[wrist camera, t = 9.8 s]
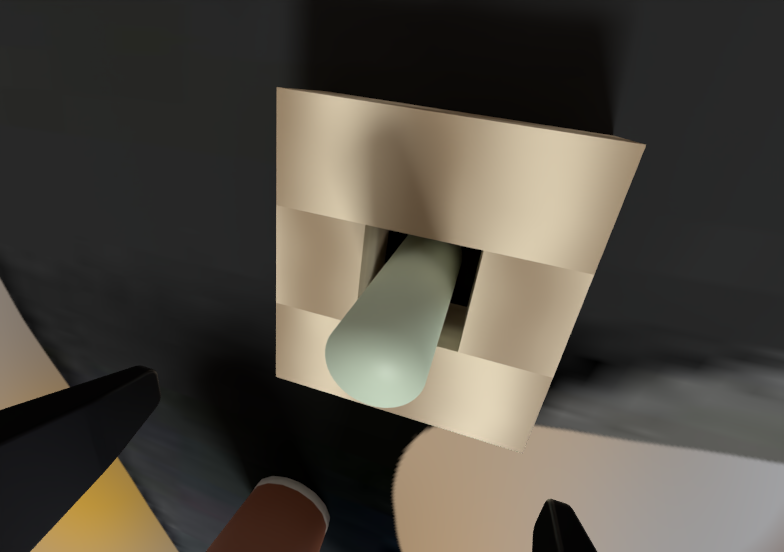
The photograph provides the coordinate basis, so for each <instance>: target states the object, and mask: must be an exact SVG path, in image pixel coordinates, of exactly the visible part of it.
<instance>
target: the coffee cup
mask: <svg viewBox="0 0 784 552" xmlns="http://www.w3.org/2000/svg"><path fill="white" fill-rule="evenodd" d="M329 520H330V516H329V513H328V510H327V508H326V505H325V504H324V503H323V501H322V500H321V499H320V498H319V497H318V495H317V494H316V493H315V492H313V491H312V490H310V489H309V488H308V487H306V486H305V485H304V484H302V483H300V482H297V481H295V480H292V479H290V478H287V477H279V476H270V477H267V478H264V479H261V481H260V482H259V483H258V484H257V485H256V487H255V488H254V490H253V491H252V493H251V494H250V495H249V497H248V498H247V499H246V501H245V502H244V503H243V504H242V506H241V507H240V508H239V510H238V511H237V512H236V513H235V515H234V516H233V517H232V519H231V520H230V521H229V522H228V524H227V525H226V526H225V528H224V529H223V530H222V531H221V533H220V534H219V535H218V537H217V538H216V539H215V540H214V542H213V543H212V544H211V546H210V547H209V548H208V549H207V551H206V552H319V550H320V547H321V544H322V541H323V539H324V536H325V533H326V531H327V529H328V525H329Z"/></svg>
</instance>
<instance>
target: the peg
mask: <svg viewBox="0 0 784 552" xmlns="http://www.w3.org/2000/svg"><path fill="white" fill-rule="evenodd" d="M462 258H463V254H462V249H461V246H460V245H456V244H451V243H447V242H442V241H438V240H433V239H429V238H424V237H419V236H415V235H410V234H409V235H408V236H407V237H406V238H405V240H404V241H403V242H402V243H401V245H400V246H399V247H398V249H397V250H396V251H395V252H394V254H393V255H392V256H391V258H390V259H389V260H388V261H387V263H386V264H385V265H384V266H383V268H382V269H381V270H380V272H379V273H378V274H377V275H376V277H375V278H374V279H373V281H372V282H371V283H370V284H369V286H368V287H367V288H366V290H365V291H364V292H363V293H362V295H361V296H360V297H359V298H358V300H357V301H356V302H355V304H354V305H353V306H352V307H351V309H350V310H349V311H348V313H347V314H346V315H345V316H344V318H343V319H342V320H341V322H340V323H339V324H338V325H337V327H336V328H335V329H334V330H333V332H332V333H331V335H330V336H329V338H328V340H327V343H326V348H325V359H326V364H327V367H328V370H329V372H330V374H331V376H332V378H333V379H334V381H335V382H336V383H337V384H338V386H339V387H340V388H341V389H342V390H343V391H345V392H346V393H347V394H348V395H350V396H351V397H353V398H354V399H356V400H358V401H360V402H362V403H364V404H367V405H370V406H374V407H380V408H394V407H399V406H402V405H405V404H407V403H409V402H411V401H413V400H414V399H415V398H416V397H417V396H418V395H419V394H420V393H421V392H422V390H423V388H424V386H425V384H426V380H427V377H428V374H429V370H430V367H431V364H432V360H433V357H434V354H435V350H436V347H437V344H438V340H439V337H440V334H441V330H442V327H443V324H444V320H445V317H446V314H447V310H448V307H449V304H450V300H451V297H452V294H453V290H454V287H455V284H456V280H457V277H458V274H459V270H460V267H461V264H462Z"/></svg>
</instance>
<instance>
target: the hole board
mask: <svg viewBox="0 0 784 552" xmlns="http://www.w3.org/2000/svg"><path fill="white" fill-rule="evenodd" d="M645 146H646V145H645V144H641V143H638V142H634V141H631V140H627V139H624V138H620V137H617V136H613V135H606V134H600V133H593V132H587V131H580V130H574V129H567V128H561V127H554V126H548V125H542V124H535V123H529V122H522V121H516V120H509V119H503V118H496V117H490V116H483V115H477V114H470V113H464V112H457V111H451V110H444V109H438V108H431V107H425V106H418V105H412V104H405V103H399V102H392V101H386V100H379V99H373V98H366V97H360V96H353V95H347V94H340V93H334V92H327V91H317V90H305V89H292V88H280V87H277V206H276V377H279V378H282V379H285V380H288V381H291V382H295V383H298V384H301V385H304V386H308V387H311V388H314V389H317V390H320V391H324V392H327V393H330V394H333V395H336V396H340V397H343V398H346V399H349V400H353V401H356V402H359V403H362V402H360V401H358V400H356V399H354V398H353V397H351V396H350V395H348V394H347V393H346V392H345V391H343V390H342V389H341V388H340V387H339V386H338V384H337V383H336V382H335V381H334V379H333V378H332V376H331V374H330V372H329V370H328V367H327V364H326V359H325V348H326V343H327V340H328V338H329V336H330V335H331V333H332V332H333V330H334V329H335V328H336V327H337V325H338V324H339V323H340V322H341V320H342V319H343V318H344V316H345V315H346V314H347V313H348V311H349V310H350V309H351V307H352V306H353V305H354V304H355V302H356V301H357V300H358V298H359V297H360V296H361V295H362V293H363V292H364V291H365V290H366V288H367V287H368V286H369V284H370V283H371V282H372V281H373V279H374V278H375V277H376V275H377V274H378V273H379V272H380V270H381V269H382V268H383V266H384V265H385V258H386V250H387V243H388V236H389V230H392V231H397V232H401V233H406V234H410V235H415V236H419V237H424V238H429V239H433V240H438V241H442V242H447V243H451V244H456V245H460V246H465V247H470V248H474V249H479V250H481V254H480V258H479V262H478V266H477V270H476V274H475V278H474V282H473V286H472V290H471V294H470V298H469V302H468V306H467V307H465V306H461V305H457V304H453V303H450V304H449V307H448V310H447V314H446V317H445V320H444V324H443V327H442V330H441V334H440V337H439V340H438V344H437V347H436V350H435V354H434V357H433V360H432V364H431V367H430V370H429V374H428V377H427V380H426V384H425V386H424V388H423V390H422V392H421V393H420V394H419V395H418V396H417V397H416V398H415V399H414V400H413V401H411V402H409V403H407V404H405V405H402V406H399V407H394V408H380V407H375V408H378V409H381V410H385V411H388V412H391V413H394V414H398V415H401V416H404V417H407V418H410V419H414V420H417V421H420V422H423V423H426V424H430V425H433V426H436V427H439V428H442V429H446V430H449V431H452V432H455V433H459V434H462V435H465V436H468V437H472V438H475V439H478V440H481V441H485V442H488V443H491V444H494V445H497V446H500V447H504V448H507V449H510V450H514V451H516V452H520V453H523V451H524V449H525V446H526V444H527V441H528V438H529V436H530V434H531V431H532V429H533V426H534V424H535V421H536V419H537V416H538V414H539V411H540V409H541V406H542V404H543V401H544V399H545V396H546V394H547V391H548V389H549V386H550V384H551V381H552V379H553V376H554V374H555V371H556V369H557V366H558V364H559V361H560V359H561V356H562V354H563V351H564V349H565V346H566V344H567V341H568V339H569V336H570V334H571V331H572V329H573V326H574V324H575V321H576V319H577V316H578V314H579V311H580V309H581V306H582V304H583V301H584V299H585V296H586V294H587V291H588V289H589V286H590V284H591V281H592V279H593V276H594V274H595V271H596V269H597V266H598V264H599V261H600V259H601V256H602V254H603V251H604V249H605V246H606V244H607V241H608V239H609V236H610V234H611V231H612V229H613V226H614V224H615V221H616V219H617V216H618V214H619V211H620V209H621V206H622V204H623V201H624V199H625V196H626V194H627V191H628V189H629V186H630V184H631V181H632V179H633V176H634V174H635V171H636V169H637V166H638V164H639V161H640V159H641V156H642V154H643V151H644V149H645ZM362 404H364V403H362ZM365 405H367V404H365ZM369 406H370V405H369ZM372 407H374V406H372Z"/></svg>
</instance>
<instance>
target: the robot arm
mask: <svg viewBox="0 0 784 552" xmlns="http://www.w3.org/2000/svg"><path fill="white" fill-rule="evenodd" d="M160 398H161V393H160V387H159V381H158V375H157V372H156V371H155V370H153V369H150V368H147V367H144V366H134V367H131V368H128V369H125V370H122V371H119V372H116V373H113V374H110V375H107V376H104V377H101V378H97V379H94V380H91V381H88V382H85V383H82V384H79V385H76V386H73V387H70V388H67V389H64V390H61V391H58V392H54V393H52V394H48V395H45V396H42V397H39V398H36V399H33V400H30V401H27V402H24V403H21V404H18V405H15V406H11V407H8V408H5V409H3V410H0V552H30V551H31V550H32V549H33V548H34V547H35V546H36V545H37V543H39V541H41V539H42V538H43V537H44V536H45V535H46V534H47V533H48V532H49V531H50V530H51V529H52V528H53V526H54V525H55V524H56V523H57V522H58V521H59V520H60V519H61V518H62V517H63V516H64V515H65V514H66V513H67V511H68V510H69V509H70V508H71V507H72V506H73V505H74V504H75V503H76V502H77V501H78V500H79V499H80V497H81V496H82V495H83V494H84V493H85V492H86V491H87V490H88V489H89V488H90V487H91V486H92V485H93V484H94V482H95V481H96V480H97V479H98V478H99V477H100V476H101V475H102V474H103V473H104V472H105V470H106V469H107V468H108V467H109V466H110V465H111V464H112V462H113V461H114V460H115V459H116V458H117V456H118V455H119V454H120V453H121V451H122V450H123V449H124V448H125V446H126V445H127V444H128V443H129V441H130V440H131V439H132V437H133V436H134V435H135V434H136V432H137V431H138V430H139V429H140V427H141V426H142V425H143V423H144V422H145V421H146V420H147V418H148V417H149V416H150V415H151V413H152V412H153V411H154V410H155V408H156V407H157V405H158V404H159V401H160ZM532 552H597V551H596V549H595V547H594V545H593V544H592V542H591V540H590V538H589V537H588V535H587V533H586V532H585V530H584V528H583V526H582V524H581V523H580V521H579V519H578V518H577V516H576V514H575V512H574V511H573V509H572V508H571V507H570V506H569V505H567V504H565V503H562V502H559V501H556V500H553V499H548V500H547V501H546V502H545V504H544V506H543V508H542V510H541V512H540V514H539V517H538V518H537V521H536V523H535V526H534V531H533V546H532Z"/></svg>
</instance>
